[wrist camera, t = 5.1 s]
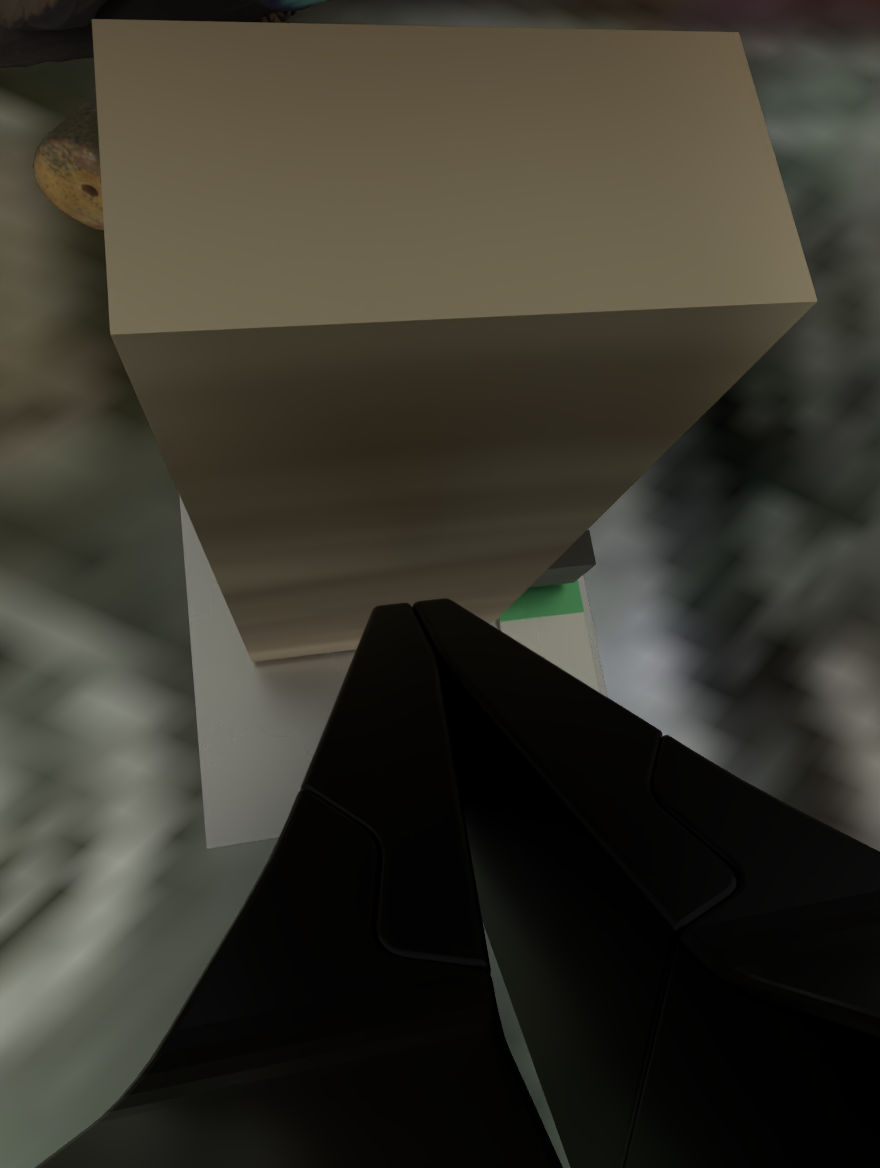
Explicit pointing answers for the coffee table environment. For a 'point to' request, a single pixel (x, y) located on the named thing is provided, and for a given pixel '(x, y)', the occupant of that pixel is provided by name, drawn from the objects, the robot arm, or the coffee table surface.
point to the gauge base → (313, 696)
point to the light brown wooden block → (427, 293)
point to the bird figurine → (71, 151)
